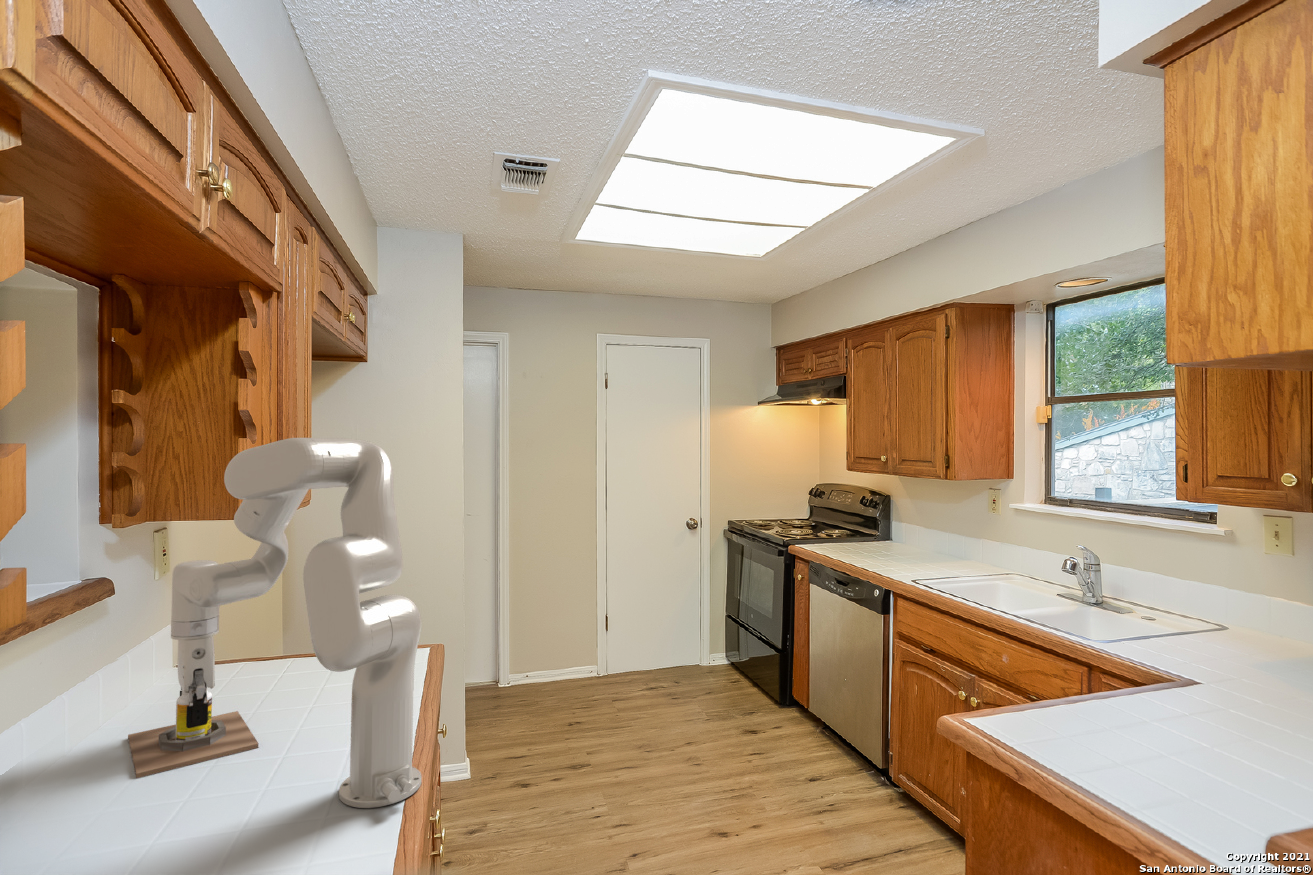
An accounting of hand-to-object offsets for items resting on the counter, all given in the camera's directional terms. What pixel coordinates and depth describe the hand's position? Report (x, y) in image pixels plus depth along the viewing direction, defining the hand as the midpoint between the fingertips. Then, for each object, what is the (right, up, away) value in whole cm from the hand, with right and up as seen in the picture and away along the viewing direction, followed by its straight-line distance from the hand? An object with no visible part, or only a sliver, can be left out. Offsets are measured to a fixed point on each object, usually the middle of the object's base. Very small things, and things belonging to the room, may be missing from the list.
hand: (193, 717), depth 126 cm
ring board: (0, -5, 0) cm, 5 cm away
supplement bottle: (0, -4, 0) cm, 4 cm away
